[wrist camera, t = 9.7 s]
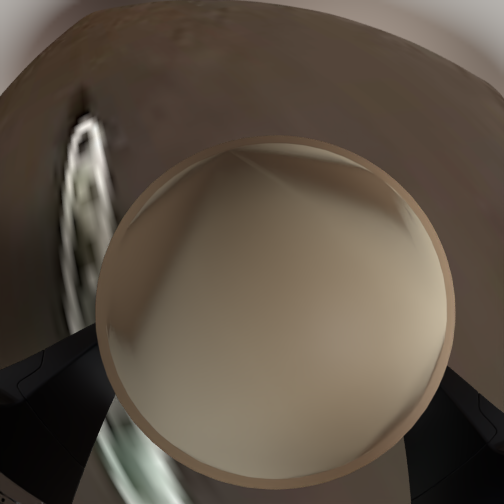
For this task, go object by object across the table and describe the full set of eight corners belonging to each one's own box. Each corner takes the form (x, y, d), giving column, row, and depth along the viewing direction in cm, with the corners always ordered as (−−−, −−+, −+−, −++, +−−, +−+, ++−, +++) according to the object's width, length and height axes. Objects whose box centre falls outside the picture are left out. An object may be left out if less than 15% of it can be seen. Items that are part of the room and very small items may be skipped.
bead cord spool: (250, 411, 15) (229, 549, 3) (189, 323, 17) (44, 245, 5) (339, 349, 16) (506, 324, 4) (278, 265, 18) (311, 90, 6)
